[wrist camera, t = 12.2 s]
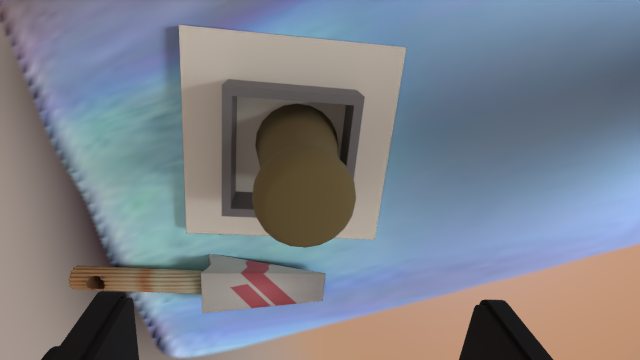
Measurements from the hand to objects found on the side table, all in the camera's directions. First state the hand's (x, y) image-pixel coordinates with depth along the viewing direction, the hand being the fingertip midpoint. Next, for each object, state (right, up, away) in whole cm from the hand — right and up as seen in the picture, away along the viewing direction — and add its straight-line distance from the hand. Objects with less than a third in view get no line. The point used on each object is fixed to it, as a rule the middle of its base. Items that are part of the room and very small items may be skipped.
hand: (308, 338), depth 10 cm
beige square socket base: (-2, +7, +18) cm, 20 cm away
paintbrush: (-9, -4, +22) cm, 24 cm away
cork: (-1, +7, +18) cm, 19 cm away
